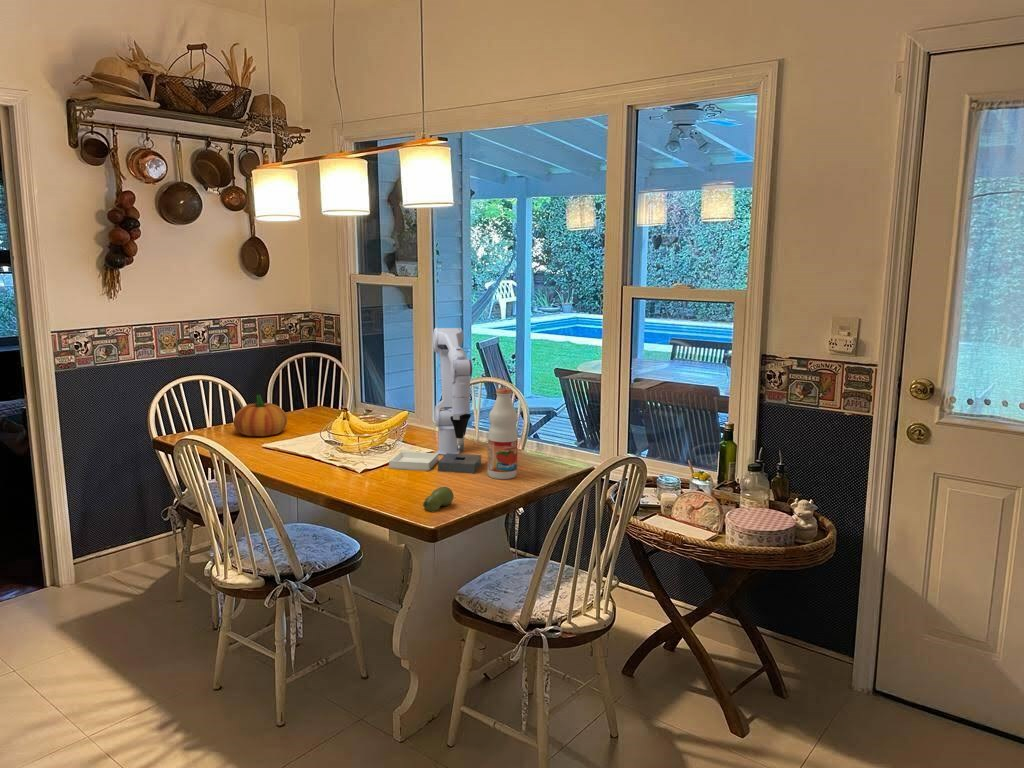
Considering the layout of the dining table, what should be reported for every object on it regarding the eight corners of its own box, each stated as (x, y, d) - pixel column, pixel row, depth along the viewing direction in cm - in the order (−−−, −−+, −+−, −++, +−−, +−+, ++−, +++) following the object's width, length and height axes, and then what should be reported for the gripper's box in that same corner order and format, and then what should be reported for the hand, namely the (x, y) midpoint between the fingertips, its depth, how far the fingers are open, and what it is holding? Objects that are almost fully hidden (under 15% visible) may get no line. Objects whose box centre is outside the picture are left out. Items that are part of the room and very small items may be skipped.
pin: (457, 449, 257) (457, 425, 256) (464, 449, 257) (464, 425, 255) (455, 450, 255) (456, 427, 253) (463, 451, 254) (463, 427, 253)
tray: (400, 458, 266) (400, 451, 266) (438, 460, 264) (438, 453, 264) (389, 468, 253) (389, 460, 253) (428, 471, 251) (428, 463, 251)
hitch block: (446, 461, 263) (446, 453, 263) (481, 463, 262) (481, 455, 261) (438, 471, 252) (438, 462, 251) (474, 473, 250) (474, 464, 249)
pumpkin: (278, 440, 288) (277, 400, 286) (226, 438, 288) (225, 399, 286) (293, 428, 307) (292, 391, 305) (244, 427, 307) (243, 390, 305)
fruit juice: (502, 470, 255) (504, 385, 250) (522, 476, 248) (525, 389, 244) (481, 475, 248) (482, 388, 244) (501, 481, 242) (503, 392, 237)
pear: (456, 486, 217) (433, 500, 209) (458, 503, 219) (435, 517, 211) (441, 482, 220) (417, 495, 212) (443, 499, 222) (419, 513, 214)
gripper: (453, 391, 260) (453, 431, 263) (443, 399, 246) (443, 441, 248) (474, 392, 259) (473, 432, 262) (465, 400, 245) (465, 442, 247)
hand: (460, 437), depth 255 cm, fingers closed on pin, 2 cm apart
